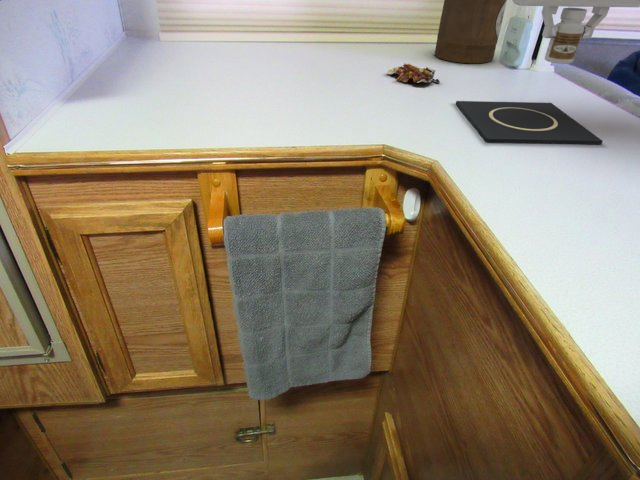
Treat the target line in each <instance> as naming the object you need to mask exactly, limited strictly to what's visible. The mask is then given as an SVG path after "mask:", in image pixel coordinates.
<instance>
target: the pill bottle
mask: <svg viewBox="0 0 640 480" xmlns="http://www.w3.org/2000/svg"><path fill="white" fill-rule="evenodd" d="M587 13H588V9H586V8H582V7H563V8H562V11H561V13H560V22H557V23H556V24H555V25H556V26H559V28H558V31H557V32H556V34H557V35H556V37H555V38H549V42H548V45H547V48H546V52H545V55H544V60H545V61H546V62H549V63H552V64H559V65H568V64H569V65H570V64H572V63H573V62H574V59H575V57H576V54H577V51H578V48H579V46H580V43H581V40H582V39H581V37H582V34H583V32H584V26H583V25H584V24H583V21H585V18H586V16H587Z"/></svg>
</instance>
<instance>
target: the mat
mask: <svg viewBox="0 0 640 480" xmlns="http://www.w3.org/2000/svg"><path fill="white" fill-rule="evenodd" d="M455 105H456V106H457V107H458V109H459V110H460V111H461V112H462V114H463V116H465V118H466V119H467V120H468V122H469V123H470V124H471V125H472V126H473V128H474V129H475V130H476V132H477V133H478V134H479V135H480V136H481V138H482V139H483V140H484V142H485V143H494V144H495V143H503V144H551V145H552V144H553V145H554V144H557V145H558V144H559V145H602V144H603V140H602V139H601V138H600V137H598V136H597V135H596V134H594V133H593V132H592V131H590V130H589V129H588V128H586V127H585V126H584V125H582V124H581V123H580V122H578V121H577V120H575V119H574V118H573V117H571V115H569V114H567V113H566V112H564V111H563V110H562V109H560V107H558V106H557V105H555V104H553V103H552V102H538V101H537V102H534V101H533V102H530V101H529V102H527V101H486V100H485V101H482V100H481V101H479V100H478V101H477V100H456V101H455Z"/></svg>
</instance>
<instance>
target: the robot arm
mask: <svg viewBox="0 0 640 480" xmlns="http://www.w3.org/2000/svg"><path fill="white" fill-rule="evenodd" d="M512 2H513V4H515V5H517V6H520V7H542V8H541V9H542V10H541V16H542V21H543V24H544V27H543V30H542V38H544V39H551V38H555V37H556V35H557V34H556V32H557V31H558V28H559V26H556V24H555V23H554V22H555V21H554V17H553V15H557V12H558V10H559V7H565V8H592V10H591V14H592V16H591V17H590V18H589V19H588V21H587V22H586V23H585V24H582V25H583V26H584V32H583V34H582V37H581V40H582V39H586V40H589V39H591V38H592V37H593V34H594V31H595V28H596V27H597V26H599V25H600V23H601V22H602V21H604V19H605V18H606V17H607V16H608V13H609V11H610V8H640V0H512Z"/></svg>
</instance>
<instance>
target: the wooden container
mask: <svg viewBox="0 0 640 480" xmlns="http://www.w3.org/2000/svg"><path fill="white" fill-rule="evenodd" d="M507 2H508V0H443V6H442V10H441V16H440V20H439V25H438V32H437V37H436V42H435V49H434V56H435V57H436V58H438V59H440V60H444V61H447V62H451V63H458V64H468V65H469V64H471V65H472V64H476V65H477V64H478V65H479V64H485V63H490V62H492V61H493V59H494V56H495V52H496V47H497V44H498V42H499V41H498V40H499V37H500V33H501V29H502V24H503V19H504V15H505V10H506V6H507Z"/></svg>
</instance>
